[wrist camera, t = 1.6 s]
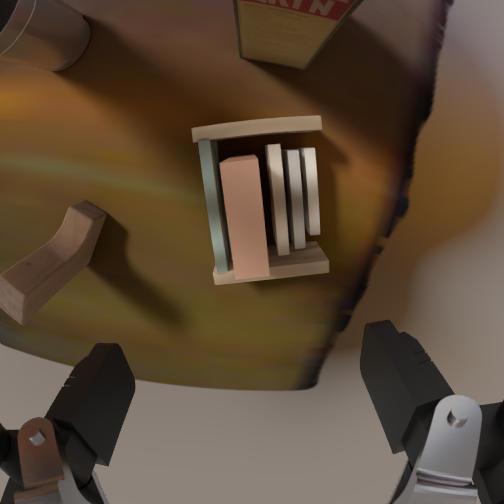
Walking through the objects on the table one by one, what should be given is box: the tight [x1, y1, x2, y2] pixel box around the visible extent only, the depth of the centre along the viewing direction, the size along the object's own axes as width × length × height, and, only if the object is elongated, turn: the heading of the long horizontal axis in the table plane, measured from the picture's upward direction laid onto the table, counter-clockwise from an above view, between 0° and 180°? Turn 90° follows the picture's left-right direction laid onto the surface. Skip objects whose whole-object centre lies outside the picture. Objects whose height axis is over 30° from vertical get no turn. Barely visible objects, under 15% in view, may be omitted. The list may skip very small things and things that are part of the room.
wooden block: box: [0, 201, 107, 325], centre depth 30 cm, size 9×4×18 cm, turn 149°
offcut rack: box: [191, 116, 329, 285], centre depth 34 cm, size 18×13×7 cm
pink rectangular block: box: [220, 154, 270, 280], centre depth 30 cm, size 10×3×14 cm, turn 6°
